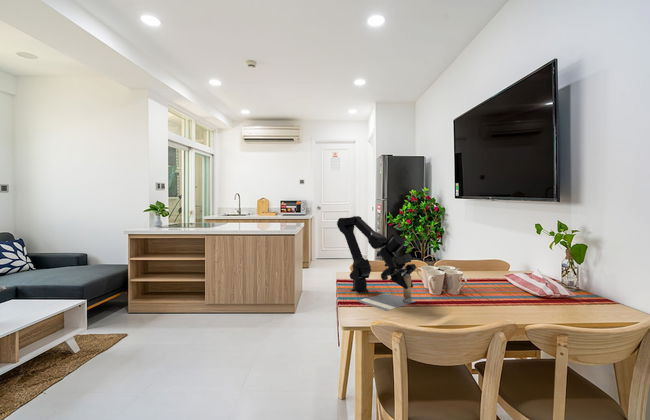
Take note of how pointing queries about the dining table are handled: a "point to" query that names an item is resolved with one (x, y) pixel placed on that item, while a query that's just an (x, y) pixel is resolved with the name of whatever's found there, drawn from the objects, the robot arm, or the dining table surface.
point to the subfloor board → (385, 301)
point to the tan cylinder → (407, 291)
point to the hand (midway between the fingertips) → (409, 287)
